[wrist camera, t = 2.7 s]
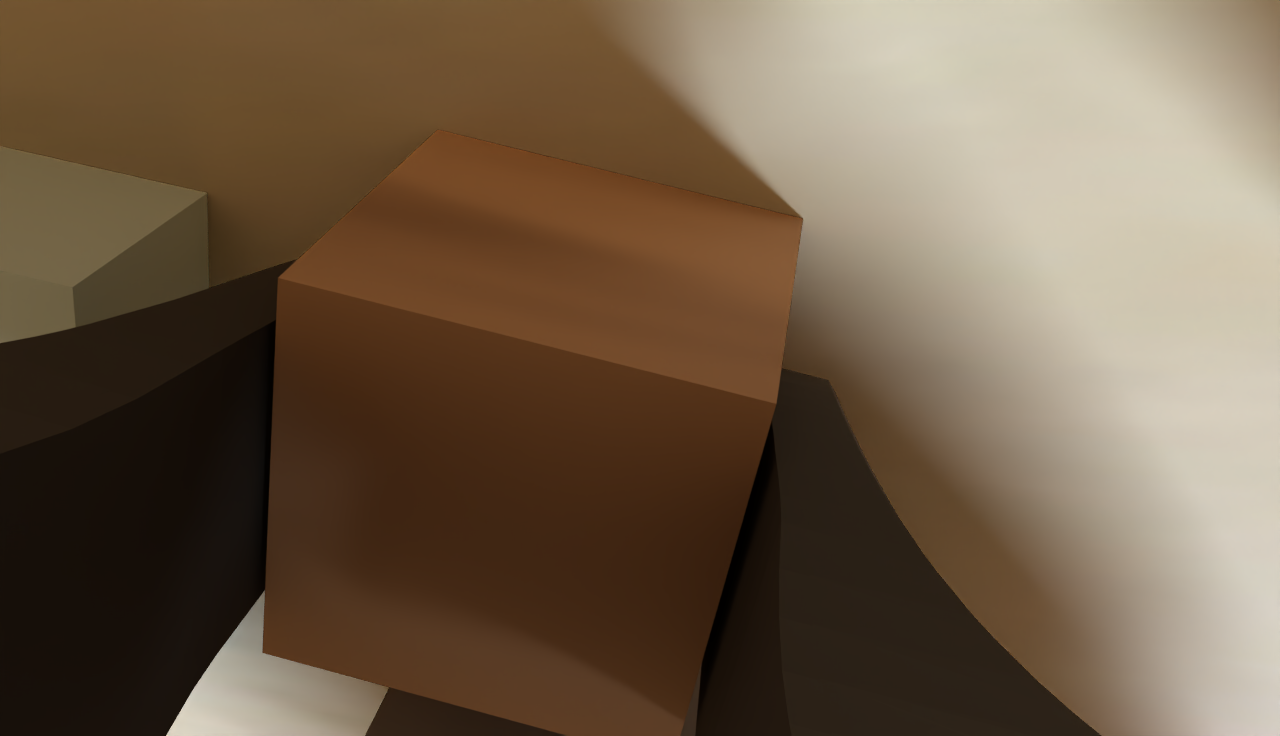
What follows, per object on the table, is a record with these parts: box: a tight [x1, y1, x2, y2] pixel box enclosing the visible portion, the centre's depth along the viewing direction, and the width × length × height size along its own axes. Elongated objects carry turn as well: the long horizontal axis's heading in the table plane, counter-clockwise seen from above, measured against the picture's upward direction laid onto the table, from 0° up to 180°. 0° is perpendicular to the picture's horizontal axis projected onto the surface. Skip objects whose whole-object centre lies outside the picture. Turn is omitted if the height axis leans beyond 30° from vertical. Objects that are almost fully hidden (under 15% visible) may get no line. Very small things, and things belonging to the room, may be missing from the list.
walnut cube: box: [263, 130, 803, 736], centre depth 12 cm, size 4×4×4 cm
